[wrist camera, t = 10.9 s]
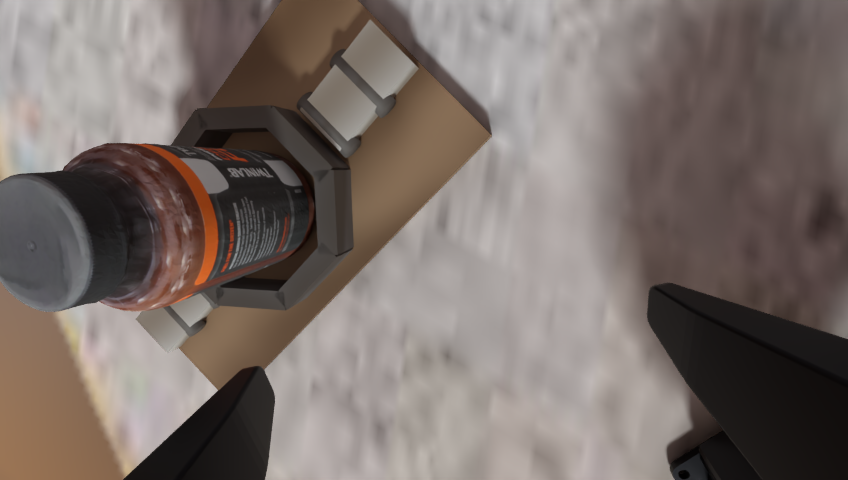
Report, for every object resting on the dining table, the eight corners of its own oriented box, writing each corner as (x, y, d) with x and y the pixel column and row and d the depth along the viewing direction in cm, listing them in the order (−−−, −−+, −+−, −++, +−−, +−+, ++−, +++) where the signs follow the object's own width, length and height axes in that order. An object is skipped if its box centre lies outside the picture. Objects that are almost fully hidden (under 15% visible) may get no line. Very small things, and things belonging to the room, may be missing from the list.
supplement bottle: (301, 136, 21) (72, 105, 10) (333, 247, 22) (151, 327, 11) (207, 167, 23) (-79, 169, 12) (240, 270, 23) (-1, 361, 12)
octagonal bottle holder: (492, 135, 20) (487, 131, 17) (238, 395, 26) (206, 422, 23) (320, -37, 20) (290, -68, 18) (111, 259, 26) (65, 270, 24)
